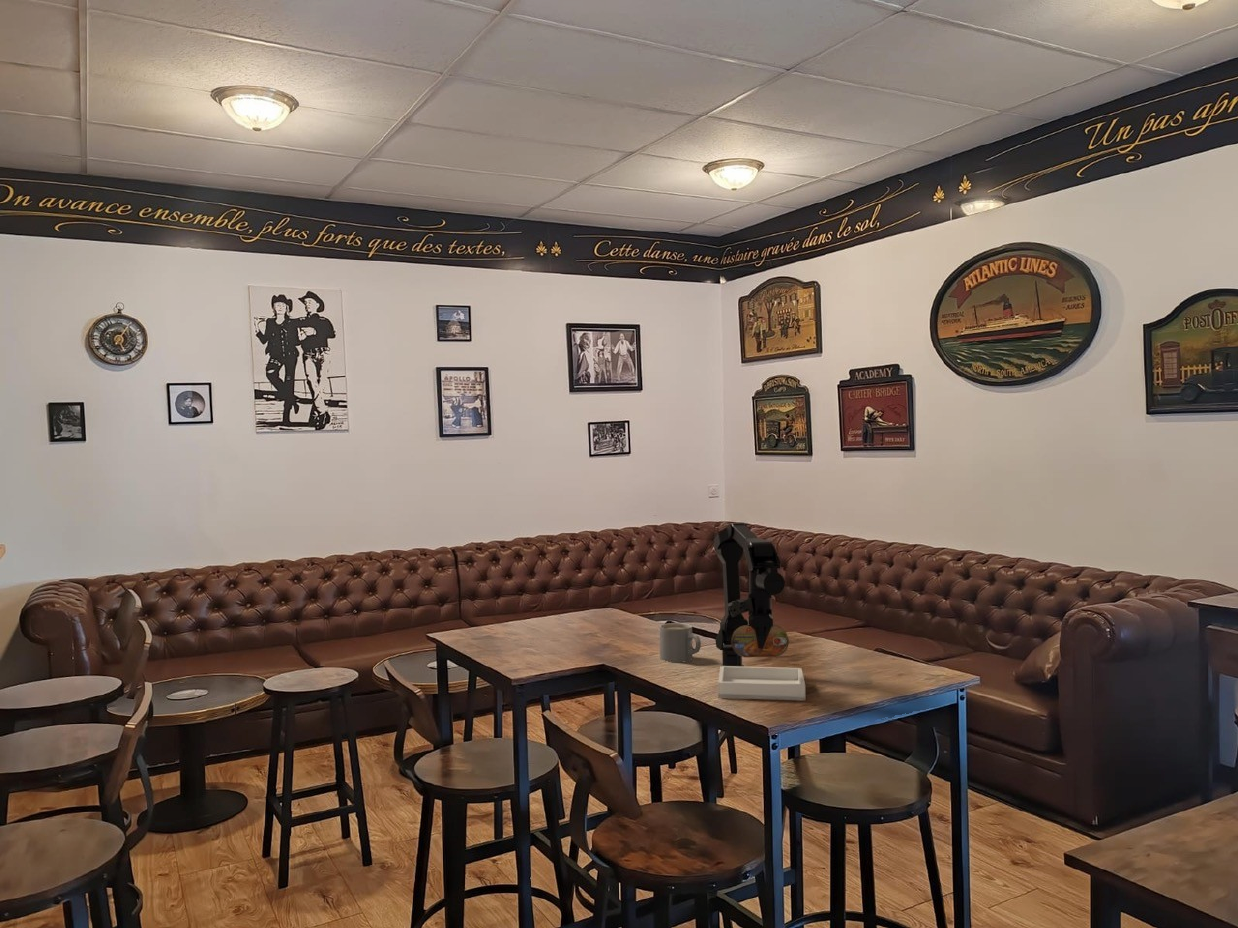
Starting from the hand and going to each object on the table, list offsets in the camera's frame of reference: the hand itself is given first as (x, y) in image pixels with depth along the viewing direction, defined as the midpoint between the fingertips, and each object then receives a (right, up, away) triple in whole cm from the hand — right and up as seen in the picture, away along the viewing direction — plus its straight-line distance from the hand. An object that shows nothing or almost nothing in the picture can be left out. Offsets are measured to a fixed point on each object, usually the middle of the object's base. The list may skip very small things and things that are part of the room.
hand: (760, 647), depth 239 cm
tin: (0, -3, 0) cm, 3 cm away
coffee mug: (-19, -11, +36) cm, 42 cm away
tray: (0, -11, 0) cm, 11 cm away
